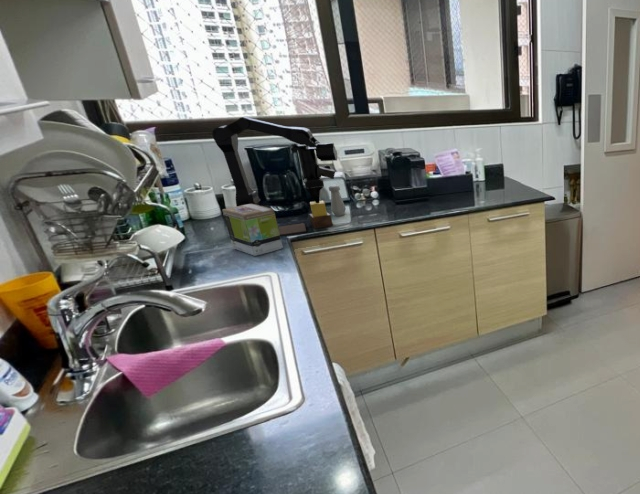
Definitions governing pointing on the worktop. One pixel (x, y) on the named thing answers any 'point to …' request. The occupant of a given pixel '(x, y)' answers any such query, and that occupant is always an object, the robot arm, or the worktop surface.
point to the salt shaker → (336, 201)
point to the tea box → (253, 229)
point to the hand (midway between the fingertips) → (316, 200)
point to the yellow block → (318, 208)
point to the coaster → (292, 229)
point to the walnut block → (321, 220)
